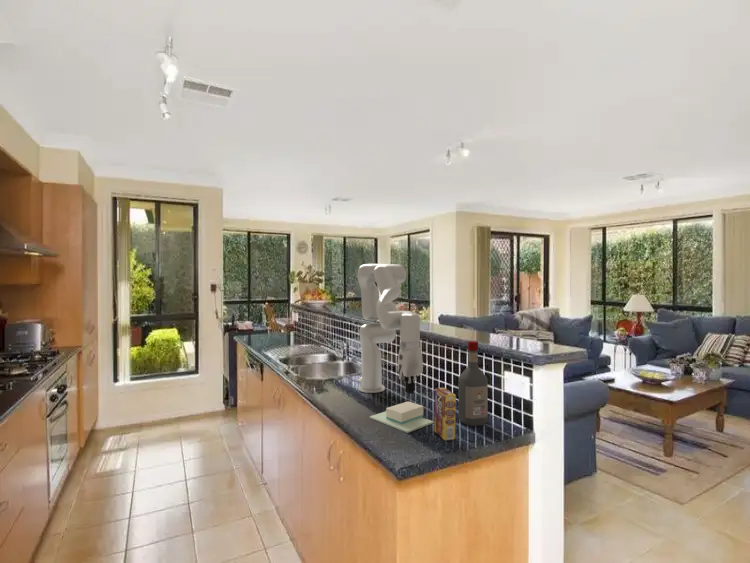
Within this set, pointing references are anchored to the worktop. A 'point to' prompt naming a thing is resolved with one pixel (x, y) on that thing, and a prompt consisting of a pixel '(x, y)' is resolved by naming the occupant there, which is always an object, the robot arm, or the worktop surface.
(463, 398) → the liquor
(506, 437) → the worktop surface
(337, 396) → the worktop surface
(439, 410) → the candy box
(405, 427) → the mat
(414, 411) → the tile
